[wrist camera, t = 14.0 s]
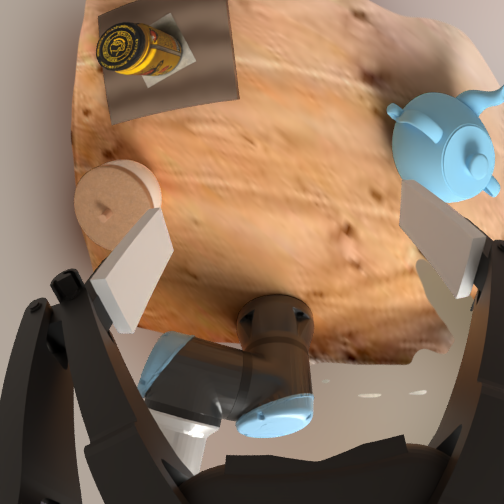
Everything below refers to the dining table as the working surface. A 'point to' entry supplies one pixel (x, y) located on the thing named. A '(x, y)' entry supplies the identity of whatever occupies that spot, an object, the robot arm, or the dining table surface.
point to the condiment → (144, 49)
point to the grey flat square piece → (188, 78)
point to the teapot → (446, 143)
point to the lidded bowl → (115, 200)
